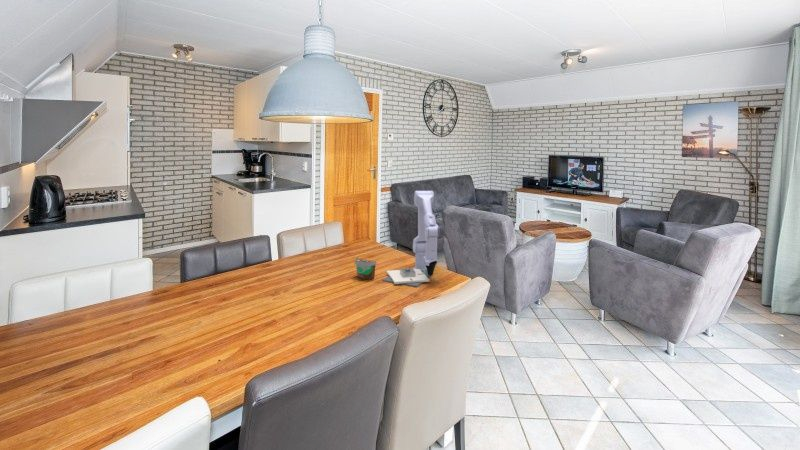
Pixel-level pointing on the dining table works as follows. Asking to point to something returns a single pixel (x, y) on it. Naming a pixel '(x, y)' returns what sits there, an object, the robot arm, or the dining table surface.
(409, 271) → the cover
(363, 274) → the food container
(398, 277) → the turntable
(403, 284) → the susan base
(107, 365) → the dining table surface
